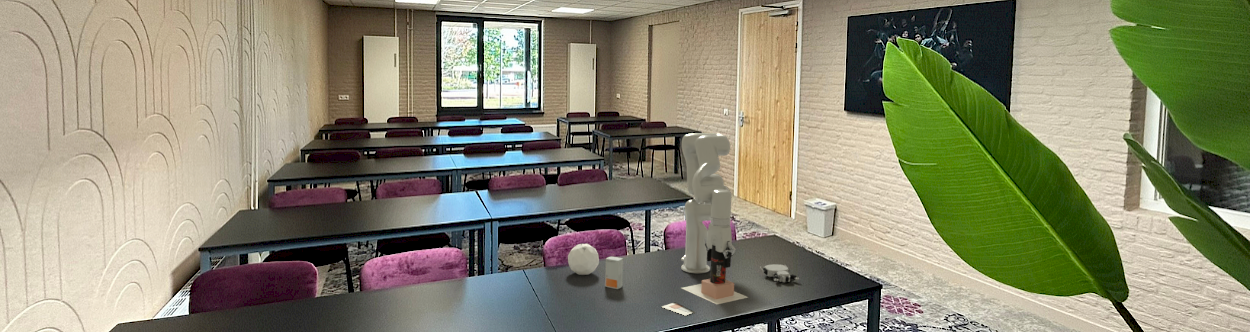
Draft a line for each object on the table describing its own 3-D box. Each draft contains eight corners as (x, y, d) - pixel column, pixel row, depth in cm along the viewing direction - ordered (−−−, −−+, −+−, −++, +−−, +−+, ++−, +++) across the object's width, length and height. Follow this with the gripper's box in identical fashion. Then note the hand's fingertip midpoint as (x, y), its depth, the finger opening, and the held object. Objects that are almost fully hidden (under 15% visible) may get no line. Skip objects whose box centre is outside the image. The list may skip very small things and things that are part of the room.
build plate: (680, 290, 291) (680, 287, 291) (711, 284, 300) (711, 281, 300) (716, 307, 273) (716, 304, 273) (748, 299, 282) (748, 297, 282)
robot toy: (800, 285, 304) (784, 272, 318) (801, 275, 303) (785, 262, 317) (773, 287, 301) (758, 273, 315) (774, 277, 300) (759, 264, 314)
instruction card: (661, 307, 271) (661, 306, 271) (677, 302, 277) (677, 301, 277) (685, 316, 263) (685, 315, 263) (701, 310, 269) (701, 309, 269)
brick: (701, 292, 286) (701, 280, 285) (718, 288, 291) (719, 276, 290) (716, 299, 279) (716, 286, 278) (733, 295, 284) (734, 283, 283)
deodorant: (713, 284, 280) (715, 246, 278) (707, 279, 286) (709, 242, 284) (727, 283, 282) (729, 246, 280) (721, 278, 288) (723, 242, 285)
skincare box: (604, 287, 293) (605, 258, 291) (609, 284, 297) (610, 255, 295) (617, 289, 290) (618, 260, 288) (622, 286, 294) (623, 258, 292)
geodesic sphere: (607, 266, 302) (600, 236, 308) (575, 269, 297) (569, 238, 303) (597, 278, 314) (591, 248, 320) (567, 281, 309) (561, 251, 315)
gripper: (698, 217, 285) (696, 259, 288) (728, 227, 271) (725, 271, 274) (713, 215, 289) (711, 256, 292) (743, 225, 275) (740, 268, 278)
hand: (718, 264), depth 283 cm, fingers open, 9 cm apart
